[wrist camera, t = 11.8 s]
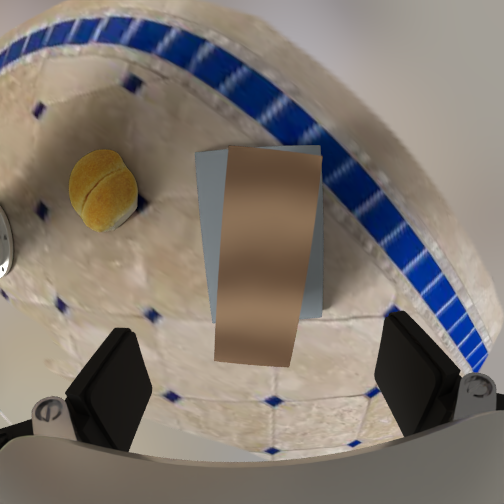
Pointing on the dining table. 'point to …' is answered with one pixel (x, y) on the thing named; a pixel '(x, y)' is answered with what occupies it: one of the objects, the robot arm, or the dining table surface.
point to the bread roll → (103, 190)
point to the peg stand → (211, 212)
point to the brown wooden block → (264, 253)
